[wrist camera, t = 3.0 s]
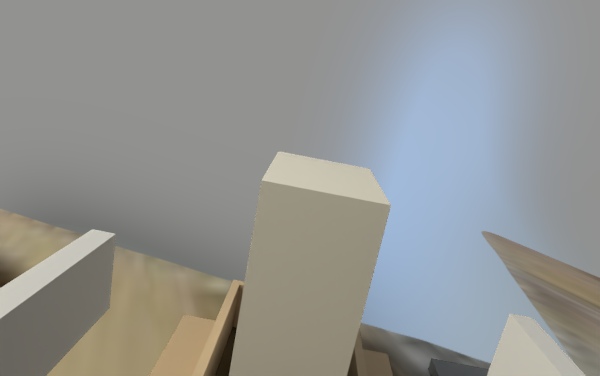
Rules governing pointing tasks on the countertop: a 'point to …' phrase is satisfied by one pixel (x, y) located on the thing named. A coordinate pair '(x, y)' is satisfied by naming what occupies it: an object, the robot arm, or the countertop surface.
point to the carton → (213, 338)
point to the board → (454, 369)
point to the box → (308, 268)
